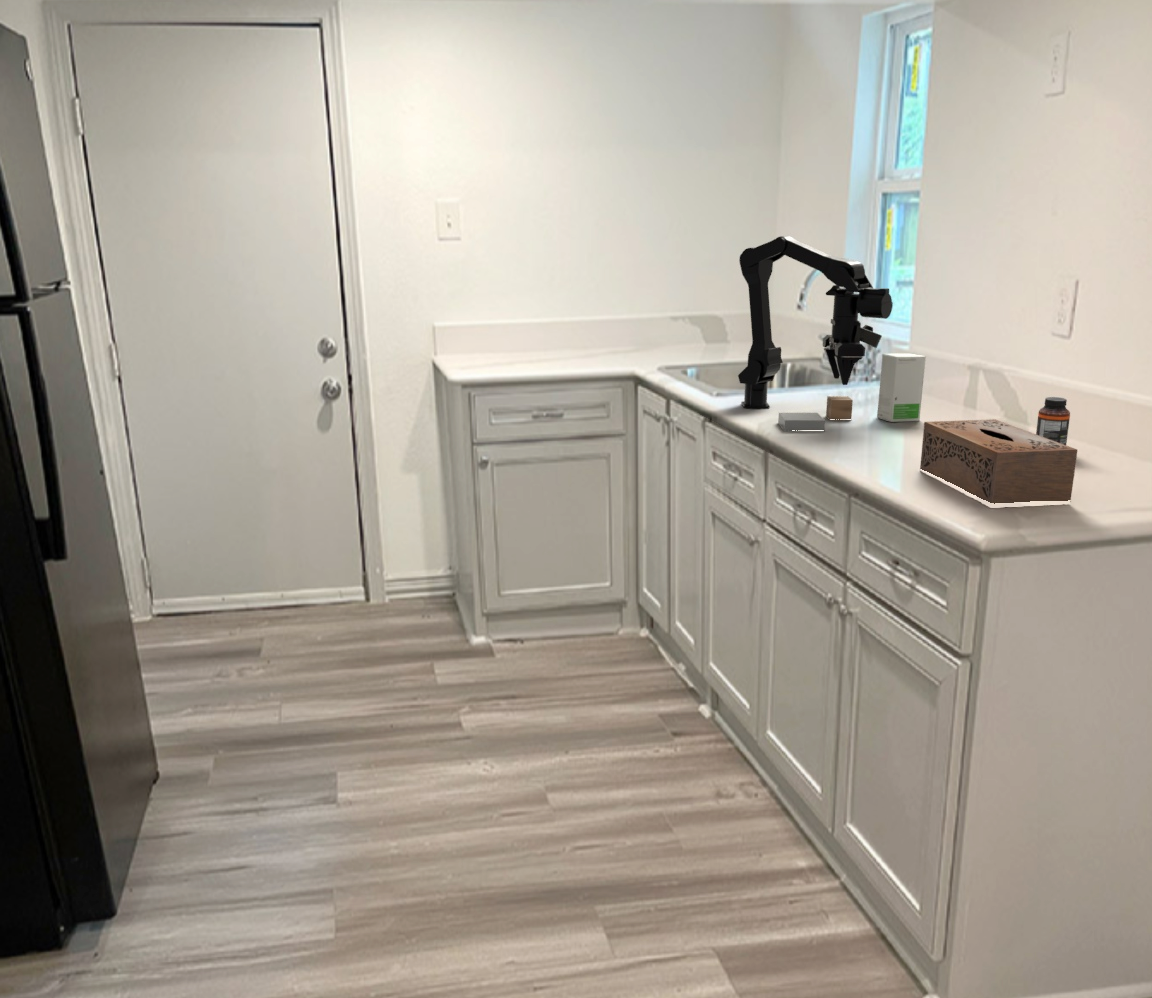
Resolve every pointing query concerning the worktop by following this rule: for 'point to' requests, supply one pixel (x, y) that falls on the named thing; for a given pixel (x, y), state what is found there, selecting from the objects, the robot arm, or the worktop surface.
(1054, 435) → the supplement bottle
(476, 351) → the worktop surface
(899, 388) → the skincare box
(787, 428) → the base
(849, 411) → the walnut cube
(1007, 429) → the tissue box cover
